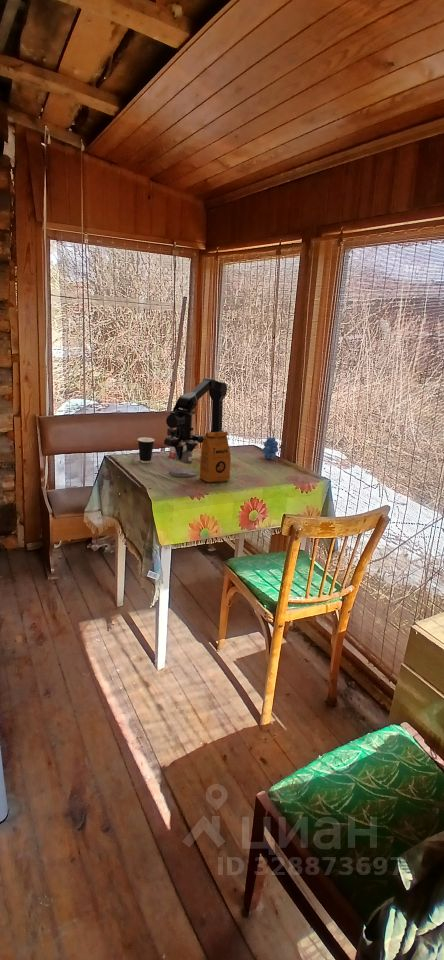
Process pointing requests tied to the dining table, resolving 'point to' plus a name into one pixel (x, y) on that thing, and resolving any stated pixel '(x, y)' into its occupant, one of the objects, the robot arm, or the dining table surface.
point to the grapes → (270, 448)
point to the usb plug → (185, 457)
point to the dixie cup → (145, 449)
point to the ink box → (172, 450)
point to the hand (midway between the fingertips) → (183, 458)
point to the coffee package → (215, 457)
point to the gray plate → (182, 472)
